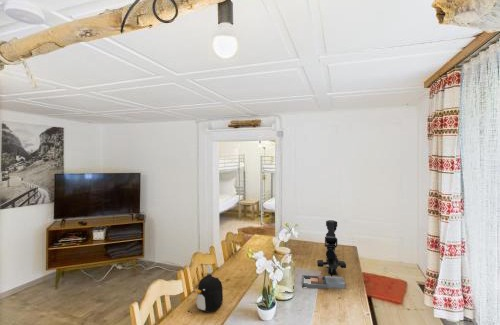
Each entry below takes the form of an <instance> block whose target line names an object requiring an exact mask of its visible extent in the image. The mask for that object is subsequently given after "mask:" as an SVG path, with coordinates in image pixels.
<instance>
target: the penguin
mask: <svg viewBox="0 0 500 325" xmlns="http://www.w3.org/2000/svg"><path fill="white" fill-rule="evenodd" d="M223 294H224V293H223V283H222V281H221V280H220V279H219V277H215V276H213V274H208V275H206V276H204V277H202V279H200V280H199V282H198V287H197V297H196V300H195V301H196V302H195V303H196V307H197V308H198V309H199V310H201V311H202V310H205V311H209V312H213V311H216V310H217V309H219V308H220V306H221V305H222V303H223V300H224V298H223V297H224V296H223ZM215 309H216V310H215ZM212 310H213V311H212ZM205 311H204V312H205Z"/></svg>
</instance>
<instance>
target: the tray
mask: <svg viewBox="0 0 500 325" xmlns="http://www.w3.org/2000/svg"><path fill="white" fill-rule="evenodd" d="M325 276H326V275H322V280H323V284H319V283H318V284H308V283H304V278H305V279H311V278H318V275H310V274H308V275H307V274H302V275H301V280H302V282H301V283H302V284H303V285H302V284H301V285H302V288H303V287H307V288H306V289H315V288H317V289H318V290H319V289H320V290H328V288H327V285H326V282H325Z"/></svg>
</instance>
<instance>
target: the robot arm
mask: <svg viewBox="0 0 500 325" xmlns="http://www.w3.org/2000/svg"><path fill="white" fill-rule="evenodd" d="M325 226H326V228H327V232H326V234H325V237H324V247H326V251H325V256H326V257H325V258H326V260H325V261H324V260H323V259H318V260H316V264H317V267H319V268H323V267H324V266H325V268H326V269H327V274H328V275H330V276H333V277H334V276H337V275H338V271H337V269H338V268H339V267H340V268H341V269H346V268H347V263H346V262H345V261H344V260H339V258H338V256H337V253H336V249H337V247H338V237H336V231H337V228H338V221H336V220H334V219H333V220H332V219H331V220H330V219H329V220H326V221H325Z"/></svg>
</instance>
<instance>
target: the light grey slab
mask: <svg viewBox="0 0 500 325" xmlns="http://www.w3.org/2000/svg"><path fill="white" fill-rule="evenodd" d="M324 276H325V282H326V285H327V289H337V290H346V283H345V279H344V278H343V276H334V275H333V276H331V275H330V276H329V275H324Z"/></svg>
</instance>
